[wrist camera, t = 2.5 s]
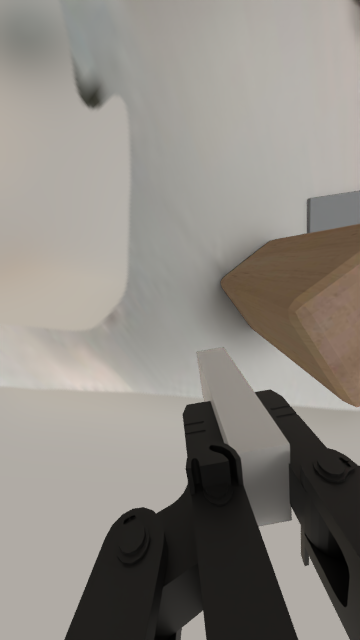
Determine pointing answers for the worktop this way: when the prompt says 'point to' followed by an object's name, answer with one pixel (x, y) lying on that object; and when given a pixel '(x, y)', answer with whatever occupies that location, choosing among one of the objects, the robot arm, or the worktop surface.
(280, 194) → the worktop surface
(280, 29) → the worktop surface
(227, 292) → the block
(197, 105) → the worktop surface
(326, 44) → the worktop surface
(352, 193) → the mat
